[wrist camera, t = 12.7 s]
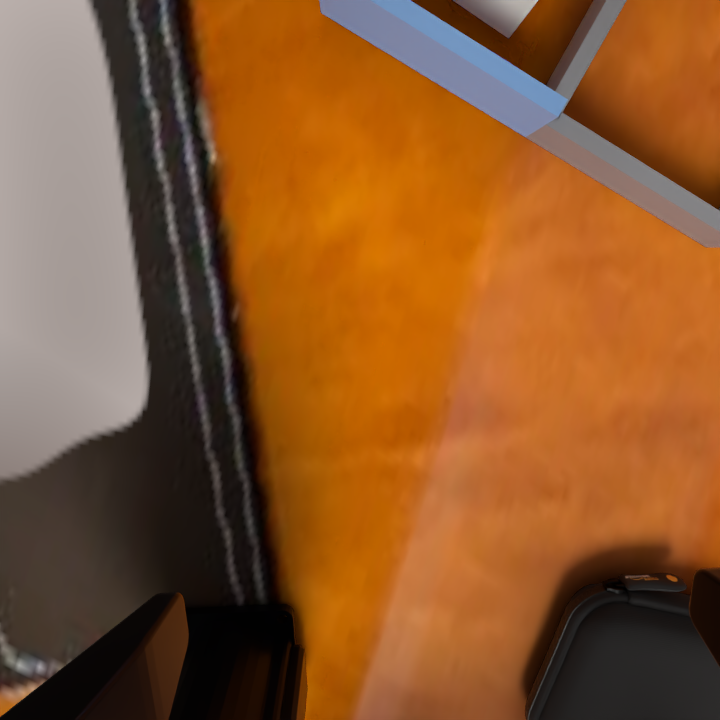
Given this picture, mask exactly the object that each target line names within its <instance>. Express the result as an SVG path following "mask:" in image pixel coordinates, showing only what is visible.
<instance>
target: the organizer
mask: <svg viewBox="0 0 720 720" xmlns="http://www.w3.org/2000/svg"><path fill="white" fill-rule="evenodd" d="M319 1H320V10H321V13H322V14H324V15H325V16H327V17H329V18H330V19H332V20H334V21H335V22H337V23H338V24H340V25H342V26H343V27H345V28H347V29H348V30H350V31H352V32H353V33H355V34H357V35H358V36H360V37H361V38H363V39H365V40H366V41H368V42H370V43H371V44H373V45H375V46H376V47H378V48H380V49H381V50H383V51H384V52H386V53H388V54H389V55H391V56H393V57H394V58H396V59H398V60H399V61H401V62H403V63H404V64H406V65H407V66H409V67H411V68H412V69H414V70H416V71H417V72H419V73H421V74H422V75H424V76H426V77H427V78H429V79H430V80H432V81H434V82H435V83H437V84H439V85H440V86H442V87H444V88H445V89H447V90H449V91H450V92H452V93H453V94H455V95H457V96H458V97H460V98H462V99H463V100H465V101H467V102H468V103H470V104H472V105H473V106H475V107H476V108H478V109H480V110H481V111H483V112H485V113H486V114H488V115H490V116H491V117H493V118H495V119H496V120H498V121H499V122H501V123H503V124H504V125H506V126H508V127H509V128H511V129H513V130H514V131H516V132H518V133H519V134H521V135H522V136H524V137H526V138H527V139H529V140H531V141H532V142H534V143H536V144H537V145H539V146H541V147H542V148H544V149H545V150H547V151H549V152H550V153H552V154H554V155H555V156H557V157H559V158H560V159H562V160H564V161H565V162H567V163H568V164H570V165H572V166H573V167H575V168H577V169H578V170H580V171H582V172H583V173H585V174H587V175H588V176H590V177H591V178H593V179H595V180H596V181H598V182H600V183H601V184H603V185H605V186H606V187H608V188H610V189H611V190H613V191H614V192H616V193H618V194H619V195H621V196H623V197H624V198H626V199H628V200H629V201H631V202H633V203H634V204H636V205H637V206H639V207H641V208H642V209H644V210H646V211H647V212H649V213H651V214H652V215H654V216H656V217H657V218H659V219H660V220H662V221H664V222H665V223H667V224H669V225H670V226H672V227H674V228H675V229H677V230H679V231H680V232H682V233H683V234H685V235H687V236H688V237H690V238H692V239H693V240H695V241H697V242H698V243H700V244H702V245H703V246H705V247H720V207H719V209H716V208H714V207H713V206H711V205H710V204H708V203H706V202H705V201H703V200H702V199H700V198H698V197H697V196H695V195H694V194H692V193H690V192H689V191H687V190H686V189H684V188H682V187H681V186H679V185H678V184H676V183H674V182H673V181H671V180H670V179H668V178H666V177H665V176H663V175H662V174H660V173H658V172H657V171H655V170H654V169H652V168H650V167H649V166H647V165H646V164H644V163H642V162H641V161H639V160H637V159H636V158H634V157H633V156H631V155H629V154H628V153H626V152H625V151H623V150H621V149H620V148H618V147H617V146H615V145H613V144H612V143H610V142H609V141H607V140H605V139H604V138H602V137H601V136H599V135H597V134H596V133H594V132H593V131H591V130H589V129H588V128H586V127H585V126H583V125H581V124H580V123H578V122H577V121H575V120H573V119H572V118H570V117H569V116H567V115H565V114H564V113H562V112H563V111H564V109H565V107H566V105H567V104H568V102H569V100H570V98H571V97H572V95H573V93H574V91H575V90H576V88H577V86H578V84H579V83H580V81H581V79H582V77H583V76H584V74H585V72H586V70H587V69H588V67H589V65H590V63H591V62H592V60H593V58H594V56H595V55H596V53H597V51H598V49H599V48H600V46H601V44H602V42H603V41H604V39H605V37H606V35H607V34H608V32H609V30H610V28H611V27H612V25H613V23H614V21H615V20H616V18H617V16H618V14H619V13H620V11H621V9H622V7H623V6H624V4H625V2H626V0H593V2H592V4H591V5H590V7H589V9H588V11H587V13H586V14H585V16H584V18H583V20H582V21H581V23H580V25H579V27H578V29H577V30H576V32H575V34H574V36H573V38H572V39H571V41H570V43H569V45H568V47H567V48H566V50H565V52H564V54H563V56H562V57H561V59H560V61H559V63H558V64H557V66H556V68H555V70H554V72H553V73H552V75H551V77H550V79H549V81H548V82H547V84H546V85H544V84H542V83H541V82H539V81H538V80H536V79H535V78H533V77H531V76H530V75H528V74H527V73H525V72H523V71H522V70H520V69H519V68H517V67H515V66H514V65H512V64H511V63H509V62H508V61H506V60H504V59H503V58H501V57H500V56H498V55H496V54H495V53H493V52H492V51H490V50H488V49H487V48H485V47H484V46H482V45H481V44H479V43H477V42H476V41H474V40H473V39H471V38H469V37H468V36H466V35H465V34H463V33H461V32H460V31H458V30H457V29H455V28H454V27H452V26H450V25H449V24H447V23H446V22H444V21H442V20H441V19H439V18H438V17H436V16H434V15H433V14H431V13H430V12H428V11H427V10H425V9H423V8H422V7H420V6H419V5H417V4H415V3H414V2H412V1H411V0H319Z"/></svg>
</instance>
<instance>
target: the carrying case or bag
mask: <svg viewBox="0 0 720 720" xmlns="http://www.w3.org/2000/svg"><path fill="white" fill-rule="evenodd" d="M618 578H619V579H609V580H607V581H603V583H600V584H591V585H587V586H585V587H583V588H581V589H580V590H579V591H578V592H577V593H576V594H575V595H574V596H573V597H572V599H571V600H570V602H569V603H568V605H567V607H566V608H565V611H564V613H563V615H562V618H561V620H560V623H559V625H558V627H557V630H556V632H555V635H554V637H553V639H552V642H551V644H550V647H549V649H548V651H547V654H546V656H545V659H544V661H543V663H542V666H541V668H540V670H539V673H538V675H537V677H536V680H535V682H534V684H533V687H532V689H531V692H530V694H529V696H528V699H527V702H526V707H525V716H526V720H720V667H719V666H718V664H717V662H716V661H715V659H714V657H713V656H712V654H711V652H710V651H709V649H708V647H707V646H706V644H705V643H704V641H703V639H702V638H701V636H700V634H699V633H698V631H697V629H696V628H695V626H694V624H693V622H692V620H691V617H690V614H689V603H690V596H691V595H687V594H682V593H678V592H680V591H683V590H685V589H687V585H686V584H685V582H684V581H683V580H682V579H681V578H679V577H677V576H675V575H672V574H668V573H656V574H644V575H619V576H618Z"/></svg>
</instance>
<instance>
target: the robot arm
mask: <svg viewBox="0 0 720 720" xmlns="http://www.w3.org/2000/svg"><path fill="white" fill-rule="evenodd" d="M689 614H690V617H691V620H692V622H693V624H694V626H695V628H696V629H697V631H698V633H699V634H700V636H701V638H702V639H703V641H704V643H705V644H706V646H707V647H708V649H709V651H710V652H711V654H712V656H713V657H714V659H715V661H716V662H717V664H718V666H719V667H720V568H701V569H698V570H697V571H696V572H695V573H694V576H693V583H692V589H691V596H690V603H689ZM279 615H286V616H287V617H281V616H279ZM306 698H307V676H306V663H305V650H304V648H303V647H302V646H301V645H296V633H295V621H294V611H293V609H292V608H291V607H290V606H289V605H286V604H275V605H255V606H234V607H213V608H192V609H185V604H184V598H183V596H182V594H180V593H178V592H174V593H159V594H156V595H155V596H153V597H152V598H151V599H149V600H148V601H147V602H146V603H144V604H143V605H142V606H140V607H139V608H138V609H137V610H135V611H134V612H133V613H132V614H130V615H129V616H128V617H127V618H125V619H124V620H123V621H121V622H120V623H119V624H118V625H116V626H115V627H114V628H113V629H111V630H110V631H109V632H108V633H106V634H105V635H104V636H102V637H101V638H100V639H99V640H97V641H96V642H95V643H94V644H92V645H91V646H90V647H89V648H87V649H86V650H85V651H83V652H82V653H81V654H80V655H78V656H77V657H76V658H75V659H73V660H72V661H71V662H70V663H68V664H67V665H66V666H64V667H63V668H62V669H61V670H59V671H58V672H57V673H56V674H54V675H53V676H52V677H50V678H49V679H48V680H47V681H45V682H44V683H43V684H42V685H40V686H39V687H38V688H37V689H35V690H34V691H33V692H31V693H30V694H29V695H28V696H26V697H25V698H24V699H23V700H21V701H20V702H19V703H18V704H16V705H15V706H14V707H12V708H11V709H10V710H9V711H7V712H6V713H5V714H4V715H2V716H1V717H0V720H304V719H305V709H306Z"/></svg>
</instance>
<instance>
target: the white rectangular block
mask: <svg viewBox="0 0 720 720" xmlns="http://www.w3.org/2000/svg"><path fill="white" fill-rule="evenodd" d="M453 1H454V2H456V3H457V4H459V5H460V6H462V7H463V8H464V9H466V10H467V11H469V12H470V13H472V14H473V15H475V16H476V17H478V18H479V19H481V20H482V21H483V22H485V23H486V24H488V25H489V26H491V27H492V28H494V29H495V30H497V31H498V32H500V33H501V34H502V35H504V36H505V37H507V38H508V39H509V38H510V36H511V35H512V34H513V32H514V31H515V30H516V29H517V27H518V26H519V25H520V23H521V22H522V21H523V19H524V18H525V17H526V16H527V14H528V13H529V12H530V10H531V9H532V8H533V7H534V5H535V4H536V3H537V1H538V0H453Z"/></svg>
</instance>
